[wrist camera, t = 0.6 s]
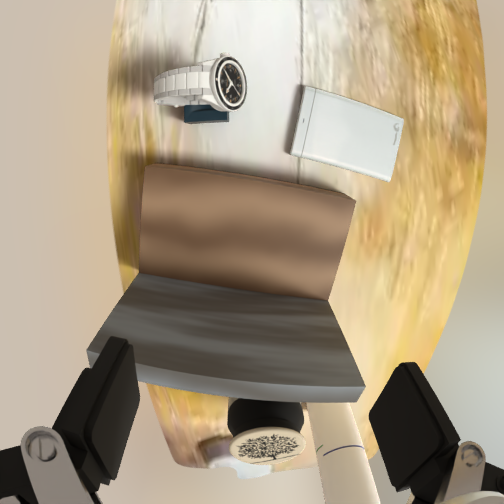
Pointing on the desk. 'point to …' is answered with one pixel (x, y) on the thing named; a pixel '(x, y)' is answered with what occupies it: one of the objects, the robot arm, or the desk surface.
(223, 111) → the watch
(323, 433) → the cylindrical container
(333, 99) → the hard drive
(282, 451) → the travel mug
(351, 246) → the desk surface
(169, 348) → the display stand
